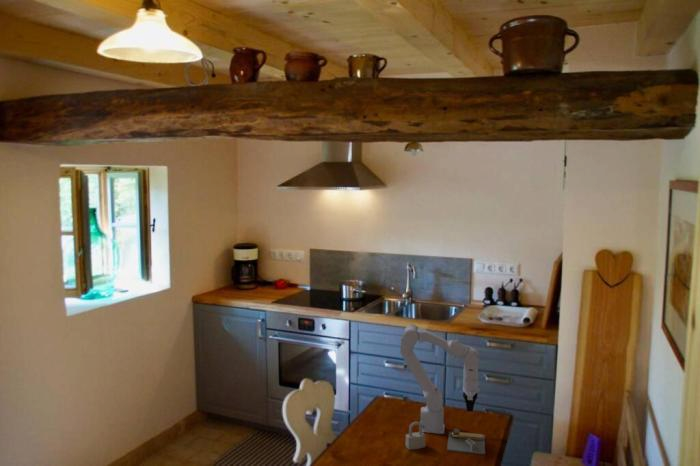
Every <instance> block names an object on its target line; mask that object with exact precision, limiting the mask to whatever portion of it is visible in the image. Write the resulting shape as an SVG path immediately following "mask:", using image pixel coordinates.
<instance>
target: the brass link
mask: <svg viewBox="0 0 700 466" xmlns="http://www.w3.org/2000/svg"><path fill="white" fill-rule="evenodd" d="M451 432H452V437H454V438H465V439H475V440H482V435H483V434H481V433H474V432H462V431H459V434H454V431H451Z"/></svg>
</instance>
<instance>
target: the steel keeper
mask: <svg viewBox="0 0 700 466" xmlns="http://www.w3.org/2000/svg"><path fill="white" fill-rule="evenodd" d="M466 442H467V443H468V444H469V445H470V449H471V450H476V443H475V442H474V441H473V440H471V439H466Z"/></svg>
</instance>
